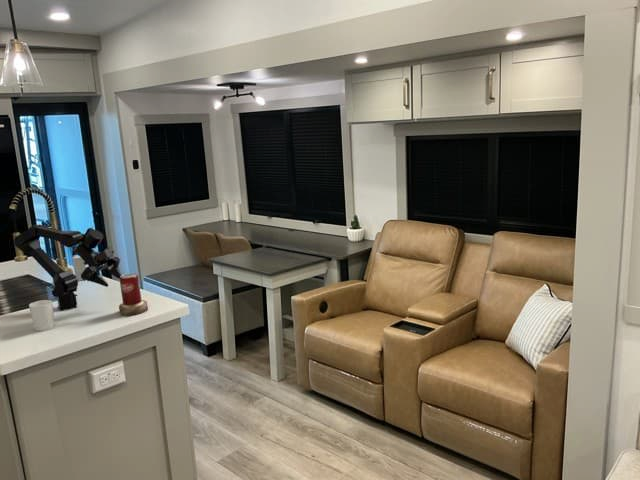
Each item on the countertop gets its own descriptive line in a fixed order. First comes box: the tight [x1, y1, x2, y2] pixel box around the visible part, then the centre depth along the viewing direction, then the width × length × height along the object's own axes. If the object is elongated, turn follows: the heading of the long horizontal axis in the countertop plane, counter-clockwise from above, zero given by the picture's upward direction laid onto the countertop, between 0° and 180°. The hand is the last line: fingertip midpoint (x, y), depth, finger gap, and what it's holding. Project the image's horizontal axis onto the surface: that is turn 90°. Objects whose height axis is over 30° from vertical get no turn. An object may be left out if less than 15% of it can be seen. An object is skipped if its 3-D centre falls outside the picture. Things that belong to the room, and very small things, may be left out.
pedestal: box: [118, 299, 149, 317], centre depth 217 cm, size 11×11×3 cm
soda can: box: [118, 273, 143, 306], centre depth 215 cm, size 7×7×12 cm
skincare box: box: [71, 255, 89, 282], centre depth 270 cm, size 6×4×12 cm
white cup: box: [28, 299, 55, 332], centre depth 202 cm, size 8×8×10 cm
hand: (115, 282), depth 217 cm, fingers open, 9 cm apart
